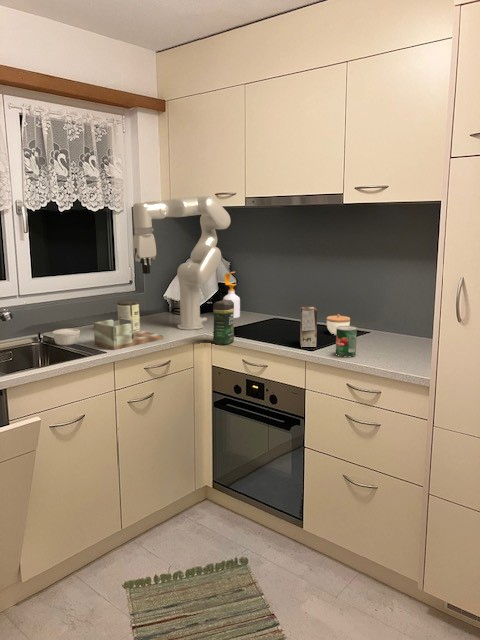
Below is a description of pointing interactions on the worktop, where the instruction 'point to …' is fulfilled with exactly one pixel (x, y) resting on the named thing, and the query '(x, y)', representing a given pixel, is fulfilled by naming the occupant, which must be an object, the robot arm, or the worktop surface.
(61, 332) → the ramekin
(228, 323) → the coffee jar
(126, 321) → the trolley
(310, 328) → the coffee box
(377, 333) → the worktop surface
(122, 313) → the coffee can
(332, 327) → the lidded jar
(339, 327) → the canned tomato
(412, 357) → the worktop surface
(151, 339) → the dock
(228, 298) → the soap bottle
